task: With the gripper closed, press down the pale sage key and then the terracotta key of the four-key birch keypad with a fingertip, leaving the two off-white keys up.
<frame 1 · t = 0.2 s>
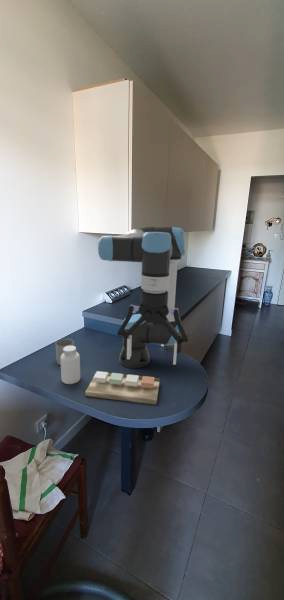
hand: (151, 359, 81), 28 cm above the table, fingers open, 13 cm apart
key white 2: (132, 380, 111), point 5 cm above the table, slide at 0.0 cm
key sage: (116, 378, 112), point 5 cm above the table, slide at 0.0 cm
keypad board: (124, 389, 113), on the table
key terracotta: (147, 382, 110), point 5 cm above the table, slide at 0.0 cm
cup: (65, 361, 135), on the table
pill bottle: (71, 379, 119), on the table
key white 1: (100, 376, 113), point 5 cm above the table, slide at 0.0 cm
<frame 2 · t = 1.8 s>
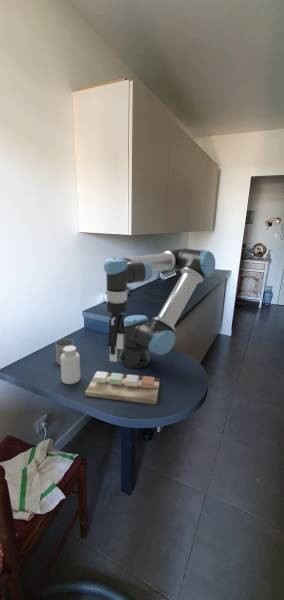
hand: (116, 354, 109), 16 cm above the table, fingers open, 10 cm apart
nothing on the table moved.
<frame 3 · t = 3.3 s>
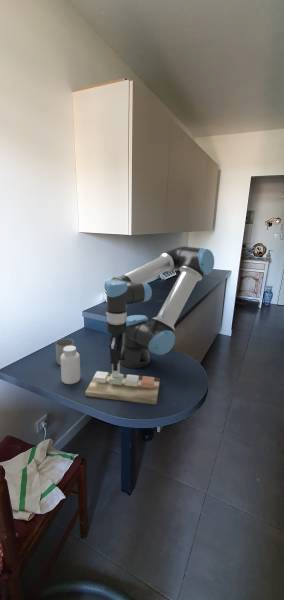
hand: (115, 376, 112), 6 cm above the table, fingers closed
key sage: (116, 378, 112), point 5 cm above the table, slide at -0.1 cm, touching gripper
everything else where it was.
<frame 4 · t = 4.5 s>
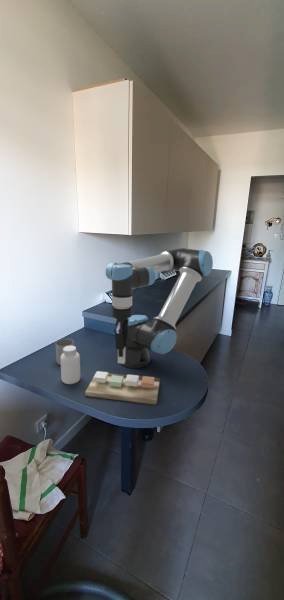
hand: (121, 362, 110), 12 cm above the table, fingers closed
key sage: (116, 381, 113), point 4 cm above the table, slide at -1.1 cm
everything else where it was.
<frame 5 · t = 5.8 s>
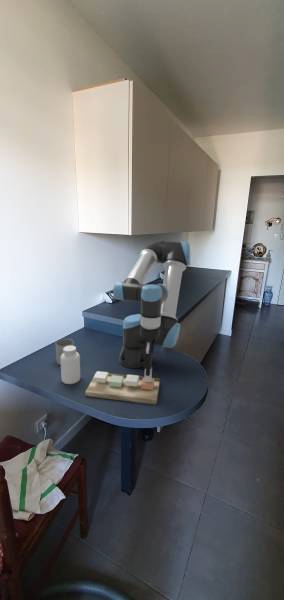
hand: (147, 381, 110), 5 cm above the table, fingers closed
key terracotta: (147, 383, 111), point 4 cm above the table, slide at -0.7 cm
everything else where it was.
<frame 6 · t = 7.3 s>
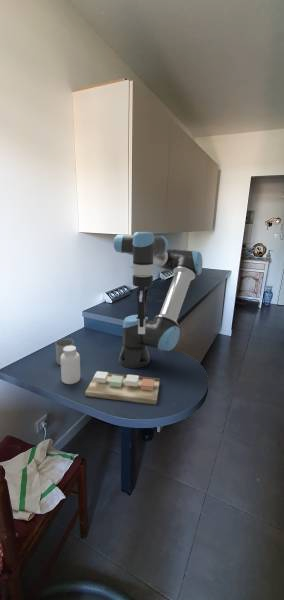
hand: (141, 333, 109), 24 cm above the table, fingers closed
key terracotta: (147, 384, 111), point 4 cm above the table, slide at -1.1 cm
everything else where it was.
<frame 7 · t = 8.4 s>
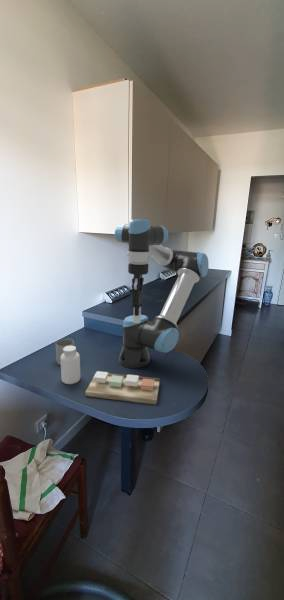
hand: (136, 322, 109), 28 cm above the table, fingers closed
nothing on the table moved.
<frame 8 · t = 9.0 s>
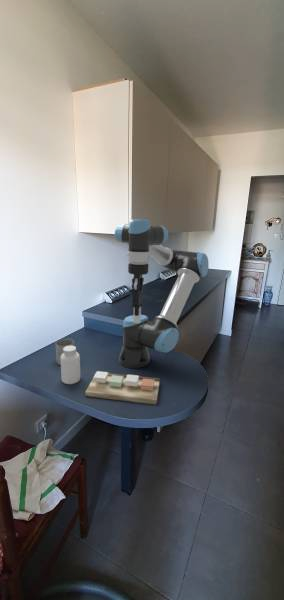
hand: (136, 322, 109), 28 cm above the table, fingers closed
nothing on the table moved.
at the end: key sage slide at -1.1 cm; key terracotta slide at -1.1 cm; key white 2 slide at 0.0 cm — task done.
